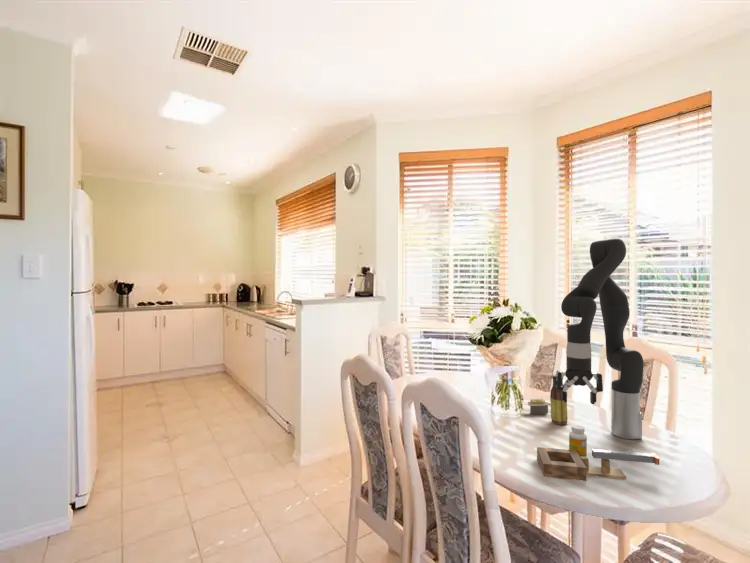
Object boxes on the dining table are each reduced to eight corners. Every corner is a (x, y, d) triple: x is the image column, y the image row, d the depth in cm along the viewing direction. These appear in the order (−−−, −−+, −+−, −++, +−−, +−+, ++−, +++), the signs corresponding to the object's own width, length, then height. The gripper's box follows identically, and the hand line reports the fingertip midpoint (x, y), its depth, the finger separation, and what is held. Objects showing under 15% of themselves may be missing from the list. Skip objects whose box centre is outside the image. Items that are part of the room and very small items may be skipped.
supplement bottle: (565, 453, 138) (565, 425, 138) (576, 450, 140) (576, 422, 140) (579, 459, 133) (579, 430, 133) (590, 456, 135) (590, 428, 135)
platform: (513, 410, 183) (513, 395, 183) (551, 409, 184) (551, 394, 183) (524, 419, 171) (524, 404, 171) (565, 418, 172) (565, 403, 172)
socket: (576, 462, 131) (576, 450, 131) (586, 481, 119) (586, 467, 119) (537, 458, 134) (537, 447, 134) (543, 476, 122) (543, 463, 122)
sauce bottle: (564, 420, 168) (564, 373, 168) (570, 425, 162) (570, 377, 162) (548, 419, 169) (548, 373, 169) (553, 425, 163) (553, 377, 162)
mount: (620, 471, 125) (620, 457, 125) (626, 479, 120) (626, 464, 120) (578, 467, 128) (578, 453, 128) (583, 475, 123) (583, 461, 123)
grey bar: (653, 459, 122) (654, 452, 122) (659, 464, 119) (659, 458, 119) (591, 454, 126) (591, 447, 126) (594, 459, 123) (594, 452, 123)
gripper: (558, 356, 133) (558, 405, 134) (605, 358, 130) (605, 407, 131) (553, 352, 141) (553, 398, 141) (598, 353, 138) (598, 400, 138)
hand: (578, 402), depth 136 cm, fingers open, 8 cm apart
